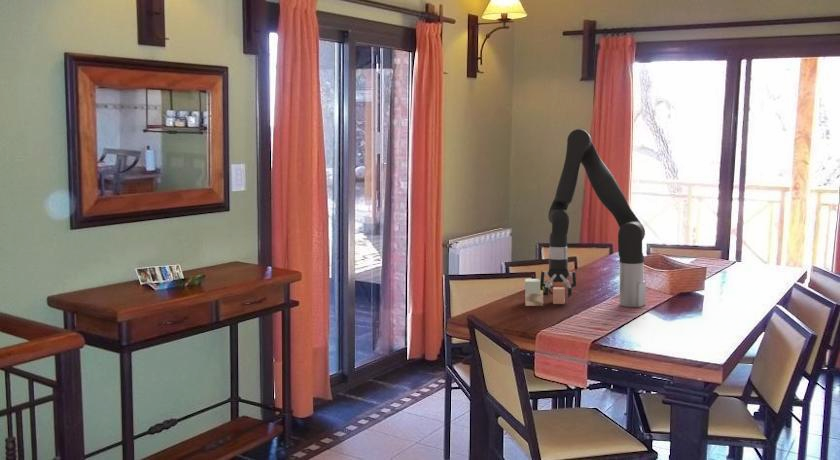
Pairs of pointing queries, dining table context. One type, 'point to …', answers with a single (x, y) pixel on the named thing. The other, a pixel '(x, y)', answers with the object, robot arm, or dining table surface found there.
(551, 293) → the toy
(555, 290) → the clay block
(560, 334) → the dining table surface
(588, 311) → the dining table surface
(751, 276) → the dining table surface
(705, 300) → the dining table surface
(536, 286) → the tower top
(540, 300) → the tower base
